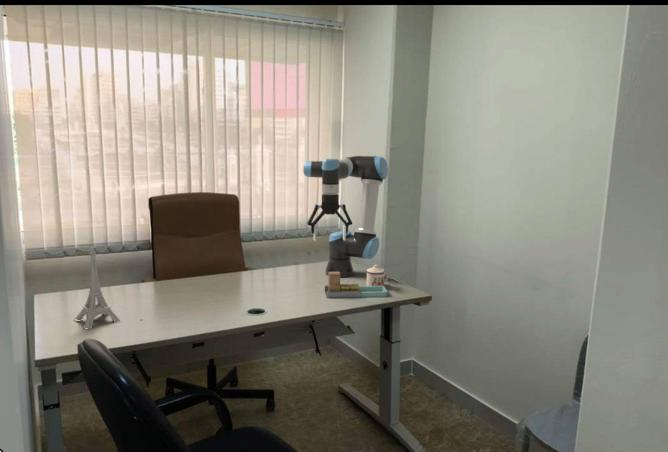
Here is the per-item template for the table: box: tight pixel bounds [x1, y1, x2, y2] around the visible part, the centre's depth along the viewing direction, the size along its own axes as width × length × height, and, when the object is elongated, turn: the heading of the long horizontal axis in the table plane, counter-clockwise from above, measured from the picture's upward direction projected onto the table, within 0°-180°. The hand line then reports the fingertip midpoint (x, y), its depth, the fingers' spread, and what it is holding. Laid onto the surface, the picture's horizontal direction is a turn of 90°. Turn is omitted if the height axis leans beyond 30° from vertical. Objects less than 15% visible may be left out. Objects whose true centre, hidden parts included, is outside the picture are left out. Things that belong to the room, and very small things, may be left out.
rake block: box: [327, 272, 341, 291], centre depth 232 cm, size 5×5×10 cm
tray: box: [359, 285, 389, 298], centre depth 234 cm, size 10×12×3 cm
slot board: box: [324, 284, 363, 299], centre depth 233 cm, size 12×16×4 cm
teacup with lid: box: [365, 264, 389, 287], centre depth 246 cm, size 12×9×12 cm
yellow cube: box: [349, 283, 360, 291], centre depth 233 cm, size 4×4×4 cm
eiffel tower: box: [74, 246, 121, 328], centre depth 194 cm, size 13×13×30 cm
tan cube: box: [340, 283, 350, 291], centre depth 233 cm, size 4×4×4 cm
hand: (329, 240), depth 226 cm, fingers open, 13 cm apart
